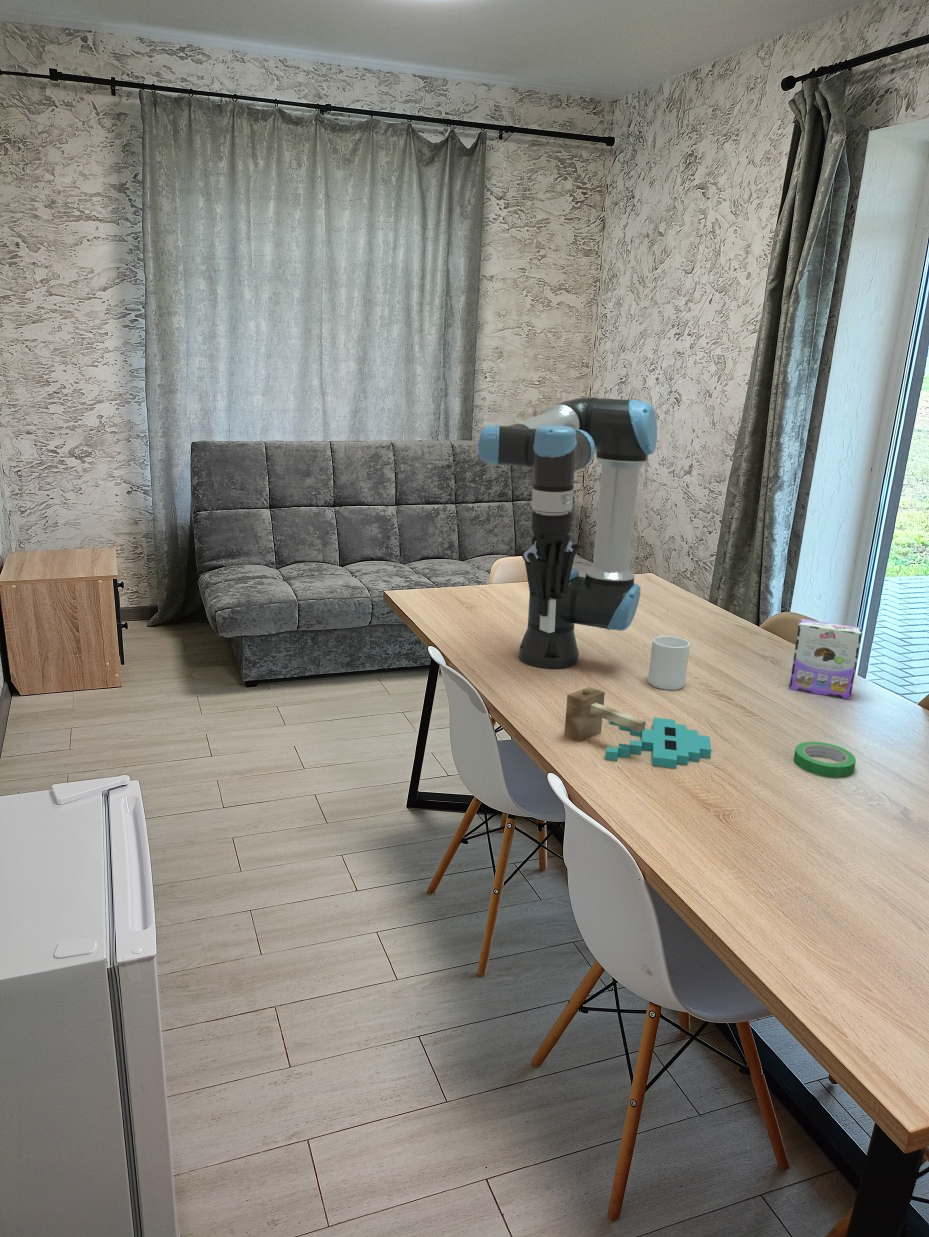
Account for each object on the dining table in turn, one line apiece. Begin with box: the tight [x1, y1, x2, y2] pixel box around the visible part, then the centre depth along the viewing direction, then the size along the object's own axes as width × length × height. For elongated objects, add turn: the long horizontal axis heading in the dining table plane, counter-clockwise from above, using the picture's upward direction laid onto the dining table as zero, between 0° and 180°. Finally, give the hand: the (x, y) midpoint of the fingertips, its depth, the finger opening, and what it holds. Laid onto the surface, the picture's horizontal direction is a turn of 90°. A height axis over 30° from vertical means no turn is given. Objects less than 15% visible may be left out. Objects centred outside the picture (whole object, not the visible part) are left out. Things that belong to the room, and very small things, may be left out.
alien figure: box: [605, 717, 712, 769], centre depth 182 cm, size 20×2×20 cm
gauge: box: [563, 686, 647, 743], centre depth 180 cm, size 16×7×10 cm, turn 44°
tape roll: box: [793, 741, 857, 779], centre depth 176 cm, size 11×11×3 cm
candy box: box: [788, 618, 863, 700], centre depth 213 cm, size 14×6×16 cm, turn 65°
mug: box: [648, 635, 691, 691], centre depth 215 cm, size 9×12×11 cm
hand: (547, 630), depth 176 cm, fingers closed
